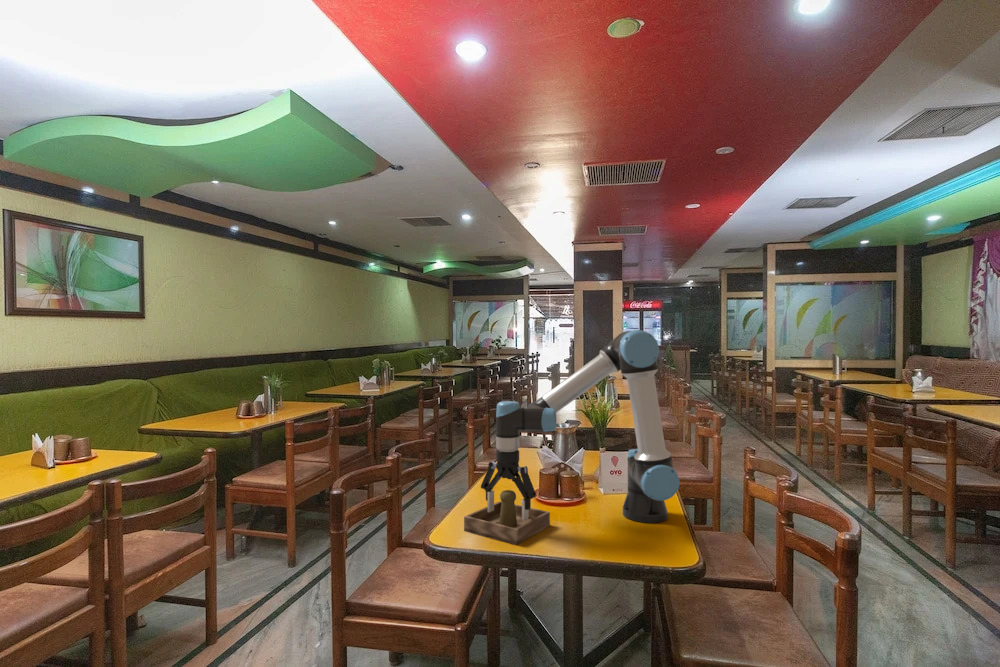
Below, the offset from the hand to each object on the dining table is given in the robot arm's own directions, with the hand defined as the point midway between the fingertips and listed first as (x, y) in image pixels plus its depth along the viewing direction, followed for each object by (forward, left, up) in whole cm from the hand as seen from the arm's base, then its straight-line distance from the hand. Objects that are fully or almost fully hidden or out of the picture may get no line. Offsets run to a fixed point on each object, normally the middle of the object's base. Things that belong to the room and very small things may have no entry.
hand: (507, 515), depth 166 cm
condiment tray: (0, 0, -4) cm, 4 cm away
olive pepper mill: (0, 0, -3) cm, 3 cm away
